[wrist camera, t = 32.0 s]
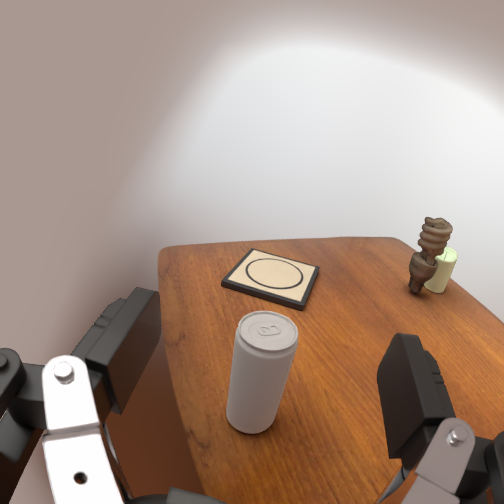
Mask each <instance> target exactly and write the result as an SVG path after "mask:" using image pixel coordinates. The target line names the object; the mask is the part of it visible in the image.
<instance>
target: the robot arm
mask: <svg viewBox="0 0 504 504" xmlns="http://www.w3.org/2000/svg"><path fill="white" fill-rule="evenodd" d="M160 335H161V311H160V295H159V292H157V291H153V290H148V289H144V288H139V287H136V288H135V289H134V290H133V292H132V293H131V295H130V296H129V297H128V298H127V300H126V299H122V298H120V299H118V300H116V301H115V302H113V303H111V304H110V305H108V307H107V308H106V309H105V310H104V311H103V313H102V314H101V315H100V317H99V318H98V319H97V320H96V322H95V323H94V326H93V325H92V327H91V328H90V329H89V330H88V332H87V333H86V334H85V336H84V337H83V338H82V340H81V341H80V342H79V344H78V345H77V346H76V347H75V349H74V350H73V351H72V353H71V354H70V355H62V356H59V357H55V358H53V359H52V360H50V361H49V362H48V363H47V364H46V365H35V364H27V363H22V361H21V359H20V357H19V355H18V354H17V352H16V351H14V350H12V349H9V348H1V349H0V419H1V417H2V416H3V414H4V412H5V411H6V410H7V411H6V413H5V414H4V416H3V418H2V419H1V421H0V504H9V501H10V499H11V497H12V495H13V493H14V490H15V488H16V486H17V484H18V482H19V479H20V477H21V475H22V473H23V471H24V469H25V466H26V465H27V463H28V461H29V459H30V456H31V455H32V452H33V450H34V448H35V447H36V444H37V443H38V441H39V438H40V437H41V435H42V433H43V431H44V429H47V434H44V435H43V438H42V442H43V449H44V456H45V461H46V467H47V471H48V476H49V481H50V486H51V490H52V494H53V498H54V502H55V504H227V503H225V502H222V501H220V500H218V499H215V498H213V497H210V496H206V495H201V494H197V493H193V492H189V491H185V490H181V489H177V488H173V487H170V490H169V493H168V494H155V495H146V496H141V497H136V498H134V497H133V495H132V492H131V490H130V487H129V485H128V483H127V480H126V478H125V476H124V474H123V472H122V469H121V466H120V463H119V460H118V458H117V455H116V451H115V448H114V445H113V442H112V439H111V436H110V432H109V429H108V426H107V423H106V418H107V416H108V414H109V413H110V411H112V412H115V413H118V414H120V415H121V414H122V412H123V410H124V408H125V406H126V404H127V402H128V400H129V398H130V396H131V394H132V392H133V390H134V389H135V387H136V384H137V382H138V381H139V379H140V377H141V375H142V373H143V371H144V369H145V367H146V365H147V363H148V361H149V359H150V358H151V356H152V354H153V352H154V350H155V348H156V346H157V344H158V342H159V339H160ZM440 373H441V372H440V370H439V367H438V364H437V362H436V360H435V359H434V358H433V357H432V355H431V354H430V353H429V352H428V351H424V349H423V347H422V344H421V342H420V339H419V337H418V336H417V335H411V334H402V333H397V334H395V335H394V337H393V339H392V341H391V343H390V345H389V347H388V349H387V351H386V353H385V355H384V357H383V359H382V361H381V363H380V365H379V368H378V372H377V384H378V389H379V395H380V401H381V407H382V413H383V419H384V425H385V432H386V439H387V447H388V454H389V459H396V458H401V460H402V465H401V466H400V467H399V468H398V469H397V471H396V472H395V474H394V475H393V477H392V478H391V480H390V481H389V483H388V484H387V485H386V487H385V488H384V490H383V491H382V492H381V494H380V495H379V497H378V498H377V499H376V501H375V502H374V503H373V504H487V497H486V490H487V489H488V488H490V487H491V488H492V493H493V498H494V504H504V431H503V432H501V433H500V434H498V435H497V436H496V437H495V438H494V439H493V440H489V439H485V438H481V437H477V436H475V434H474V432H473V430H472V428H471V427H470V426H469V424H467V423H466V422H465V421H463V420H461V419H459V418H456V416H455V413H454V410H453V407H452V404H451V401H450V398H449V395H448V392H447V389H446V386H445V385H444V381H443V378H442V375H440Z"/></svg>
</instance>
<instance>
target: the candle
mask: <svg viewBox="0 0 504 504" xmlns="http://www.w3.org/2000/svg"><path fill="white" fill-rule="evenodd" d="M457 258H458V256H457V253H456V252H455V250H453V249H452V248H450V247H447V246H446V247H445V248H444V253H443V254H442V255H440V256H436V257H435V259H436V260H437V262H438V268H437V270H436V272H435V274H434V276H433V277H432V278H431V279H430V280H428V281H427V282H425V283H424V286H425V287H426V288H427V289H428V290H430V291H432V292H435V293H442V292H444V290H445V288H446V285H447V283H448V280H449V278H450V276H451V273H452V271H453V268H454V266H455V263H456V261H457Z"/></svg>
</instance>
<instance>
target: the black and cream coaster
mask: <svg viewBox="0 0 504 504" xmlns="http://www.w3.org/2000/svg"><path fill="white" fill-rule="evenodd" d="M319 268H320V267H317V266H314V265H310V264H306V263H303V262H299V261H296V260H292V259H288V258H285V257H281V256H278V255H274V254H270V253H267V252H263V251H260V250H256V249H252V248H251V250H250V251H249V252H248V253H247V254H246V255H245V256H244V257H243V258H242V259H241V260H240V261H239V262H238V264H237V265H236V266H235V267H234V268H233V269H232V270H231V271H230V272H229V273H228V274H227V275H226V276H225V277H224V279H223V280H222V282H221V286H223V287H226V288H230V289H233V290H236V291H239V292H242V293H245V294H248V295H252V296H255V297H258V298H261V299H264V300H268V301H271V302H274V303H277V304H281V305H284V306H287V307H291V308H294V309H297V310H301V311H303V309H304V306H305V304H306V301H307V299H308V296H309V294H310V292H311V289H312V287H313V284H314V282H315V279H316V277H317V274H318V272H319Z"/></svg>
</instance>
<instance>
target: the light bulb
mask: <svg viewBox="0 0 504 504" xmlns="http://www.w3.org/2000/svg"><path fill="white" fill-rule="evenodd" d="M422 229H423V231H422V232H421V233H420V237H421V239H419V240H418V245H419V246H421V248H422V251H421V252H416V253H414V254H413V256H412V258H411V261H410V264H409V271H410V275H411V277H410V281H409V285H408V286H409V287H410V289H411V291H412V292H413V293H418V292H420V291H421V288H422V286H423V285H424V283H425V282H427V281H428V280H430V279H431V278H432V277H433V276H434V274H435V272H436V270H437V268H438V262H437V260H436V259H435V257H436V256H440V255H442V254H443V253H444V248H445V247H446V245H447V241H448V240H449V239H450V234H451V233H452V229H453V228H452V226H451V224H450V223H449V222H447V221H446V220H444V219H443V218H436V219H433V218H430V217H426V218H425V224H423V226H422Z"/></svg>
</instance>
